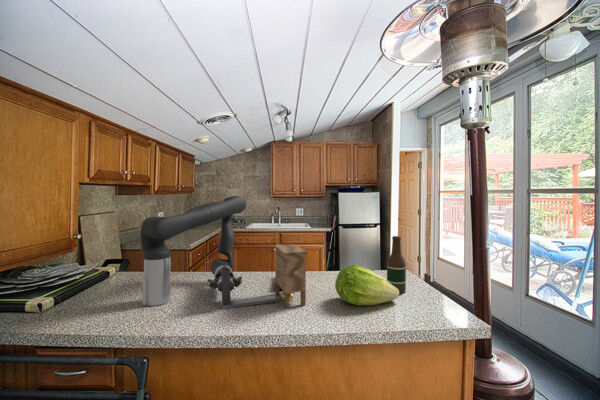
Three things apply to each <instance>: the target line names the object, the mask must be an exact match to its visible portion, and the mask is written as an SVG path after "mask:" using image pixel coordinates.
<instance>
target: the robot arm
mask: <svg viewBox="0 0 600 400" xmlns="http://www.w3.org/2000/svg"><path fill="white" fill-rule="evenodd" d="M246 208H247V201H246V199H245V197H243V196H241V195H231V196H228V197H225V198H224V199H223V201H216V202H208V203H204V204H198V205H196V206H193V207H191V208H189V209H187V210H186V211H185V212H184V213H181V214H177V215H172V216H153V215H151V216H148V217H146V218H145V219H144V220H143V221H142V223H141V226H140V246H141V251H142V254H143V279H142V284H141V285H142V286H141V288H142V290H141V291H142V296H141V297H142V306H148V307H152V306H153V307H154V306H161V305H164V304H168V303H169V302H170V301H171V292H172V291H171V285H172V284H171V281H172V280H171V279H172V278H171V270H172V269H171V268H172V267H171V265H172V264H171V249H170V248H169V247H167V245H166V243H165V241H167V240H169V239H172V238H174V237H176V236H177V235H180V234H181V233H184V232H187V231H189V230H190V231H191V230H193V229H196V228H199V227H203V226H206V225H209V224H211V223H214V222H216V221H219V220H221V223H220V224H221V225H220V226H221V229H220V237H219V242H218V248H217V252H218V254H220V255H223V256H225V257H226V259H224V258H223V259H222V258H215V259H213V260H212V261H211V263H210V270H211V273H212V274H213V275H214V279H210V278H208V279H207V287H209V288H210V289H212V290H216V289H217V291H218V292H220V293H222V283H221V269H222V268H230V292H233V290H235V288H238V287H240V285H241V284H243V283H242V282H243V276H241V275H240V276H238V277H235V275H234V272H233V271H234V266H235V265H234V258H233V257H234V256H233V253H234V252H233V250H234V246H235V245H234V244H235V233H234V232H235V231H234V229H233V225H232V219H233V215H235V214H241V213H244V211H245V209H246Z"/></svg>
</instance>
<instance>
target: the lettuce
mask: <svg viewBox="0 0 600 400" xmlns="http://www.w3.org/2000/svg"><path fill="white" fill-rule="evenodd" d="M334 288H335V291H336V293H337V295H338V296H339V298H340V300H341V301H344V302H346V303H348V304H351V305H356V306H375V305H381V304H384V303H388V302H391V301H394V300H396V299H398V298H399V295H400V294H399V290H398V289H397V288H396V287H394V286H393V285H392V284H390V283H389V282H388V281H387V279H385V278H384V277H383V276H381V275H379V274H377V273H375V272H373V270H371V269H369V268H365V267H363V266H361V265H357V264H351V265H348V266H345V267H343V268H341V270H339V272H338V274H337V277H336V279H335V284H334Z"/></svg>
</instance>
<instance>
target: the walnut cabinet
mask: <svg viewBox="0 0 600 400" xmlns="http://www.w3.org/2000/svg"><path fill="white" fill-rule="evenodd" d="M273 248H274V249H275V283H276V287H275V286H274V290H275V292H274V295H276V296H277V295H281V291H280V287H281V288H282V290H283V291H282V292H284V302H283V307H284V309H289V308H290V302H289V293H293V294H295V293H299V292H300V305H301V307H303V306H304V307H305V306H306V298H307V297H306V292H307V291H306V288H307V287H306V282H307V281H306V278H307V277H306V275H307V273H306V271H307V270H306V269H307V268H306V267H307V266H306V265H307V264H306V263H307V260H306V259H307V258H306V257H307V256H306V255H308V250H305V249H304V248H303V247H300V246H298V245H296V244H290V243H289V244H275V245H274V246H273Z"/></svg>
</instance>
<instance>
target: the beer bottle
mask: <svg viewBox="0 0 600 400" xmlns="http://www.w3.org/2000/svg"><path fill="white" fill-rule="evenodd" d="M391 239H392V241H391V242H392V243H391V244H392V245H391V253H390V256H388V258H387V261H386V280H387V281H388V282H389V283H390V284H392V285H393V286H394V287H396V288H397V289H398V290H399V295H403V294H405V293H406V291H407V290H406V289H407V281H406V280H407V279H406V278H407V276H406V275H407V266H406V265H407V263H406V260H405V258H404V257H403V255H402V249H401V248H402V246H401V245H402V243H401V240H402V237H401V236H399V235H394V236H392V237H391Z"/></svg>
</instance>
